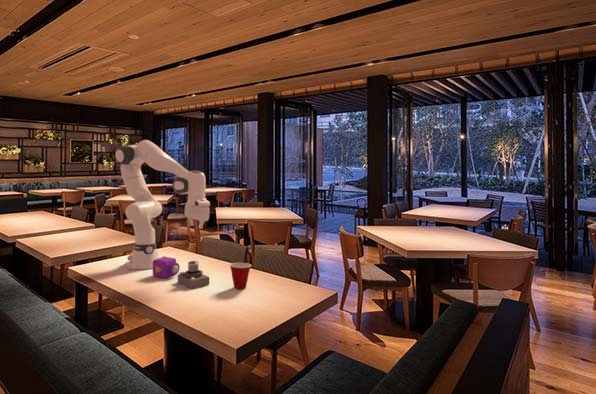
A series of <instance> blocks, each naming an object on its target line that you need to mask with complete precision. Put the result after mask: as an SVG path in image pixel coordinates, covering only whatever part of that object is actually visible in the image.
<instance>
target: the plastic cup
mask: <svg viewBox="0 0 596 394" xmlns="http://www.w3.org/2000/svg"><path fill="white" fill-rule="evenodd" d="M229 266H230V271H231V277H232V283H233V287H234V289H235V290H245V289H246V288H247V286H248V285H247V284H248V279H249V273H250V269H251V268H252V264H251V263H247V262H231V263H229Z"/></svg>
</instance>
